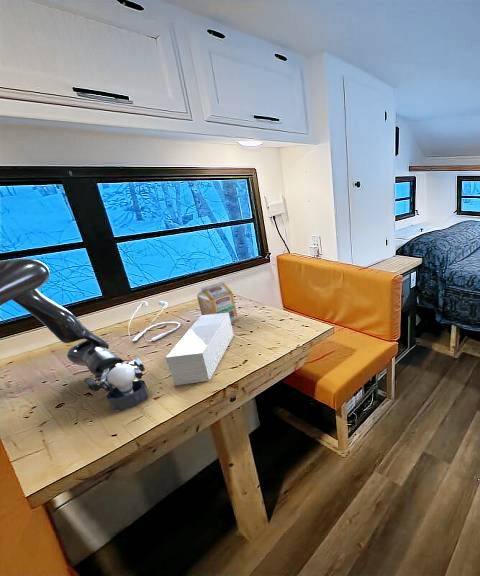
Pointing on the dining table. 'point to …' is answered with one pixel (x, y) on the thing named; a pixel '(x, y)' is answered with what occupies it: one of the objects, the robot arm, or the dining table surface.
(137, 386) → the socket
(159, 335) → the earphone
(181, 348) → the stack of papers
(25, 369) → the dining table surface
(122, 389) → the lightbulb
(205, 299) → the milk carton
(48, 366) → the dining table surface
